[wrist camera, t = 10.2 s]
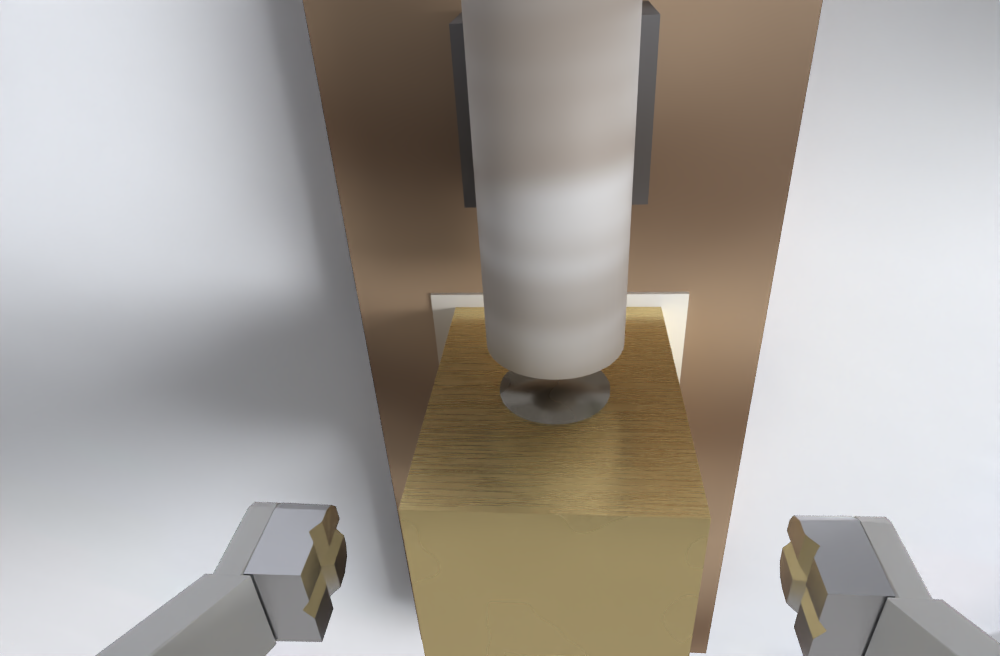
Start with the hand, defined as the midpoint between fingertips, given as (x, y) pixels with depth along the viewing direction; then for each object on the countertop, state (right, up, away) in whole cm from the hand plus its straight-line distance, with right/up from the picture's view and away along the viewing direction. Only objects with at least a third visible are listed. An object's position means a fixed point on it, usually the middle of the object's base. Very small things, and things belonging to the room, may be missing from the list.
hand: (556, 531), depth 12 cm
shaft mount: (+1, +3, +5) cm, 6 cm away
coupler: (0, +2, +4) cm, 4 cm away
